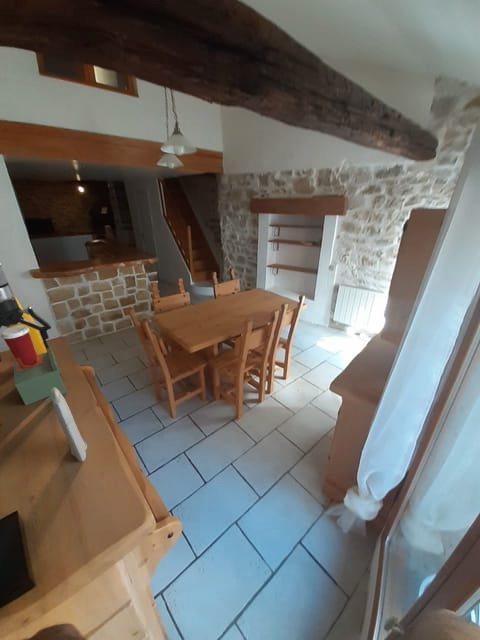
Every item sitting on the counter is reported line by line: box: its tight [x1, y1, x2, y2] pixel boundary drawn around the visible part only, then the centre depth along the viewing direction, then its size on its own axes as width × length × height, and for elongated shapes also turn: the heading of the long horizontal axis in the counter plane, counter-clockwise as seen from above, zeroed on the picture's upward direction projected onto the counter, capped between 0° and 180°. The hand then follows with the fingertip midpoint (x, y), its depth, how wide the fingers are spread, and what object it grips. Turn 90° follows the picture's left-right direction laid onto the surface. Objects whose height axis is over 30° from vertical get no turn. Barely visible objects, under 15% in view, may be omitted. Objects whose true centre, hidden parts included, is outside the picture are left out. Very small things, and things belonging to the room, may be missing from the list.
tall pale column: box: [51, 387, 88, 463], centre depth 69 cm, size 11×4×22 cm, turn 40°
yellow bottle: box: [6, 296, 48, 355], centre depth 109 cm, size 9×9×29 cm
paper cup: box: [0, 325, 38, 367], centre depth 90 cm, size 8×8×14 cm
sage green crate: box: [13, 346, 68, 406], centre depth 94 cm, size 12×16×13 cm
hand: (24, 353), depth 92 cm, fingers open, 13 cm apart
